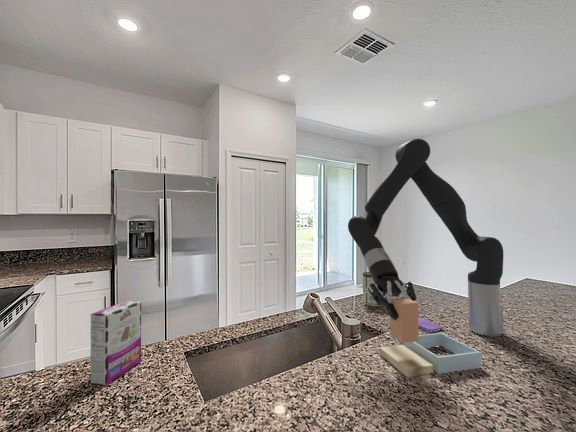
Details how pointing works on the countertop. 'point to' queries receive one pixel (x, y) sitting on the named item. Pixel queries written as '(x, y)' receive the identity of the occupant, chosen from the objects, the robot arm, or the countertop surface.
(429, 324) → the sponges
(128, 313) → the candy bar box
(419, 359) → the block
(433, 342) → the square frame
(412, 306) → the terracotta box
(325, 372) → the countertop surface
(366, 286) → the coffee can
